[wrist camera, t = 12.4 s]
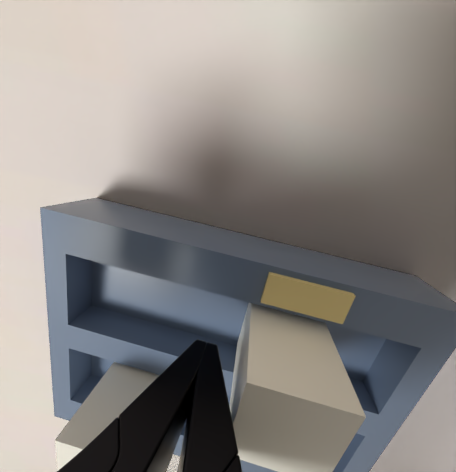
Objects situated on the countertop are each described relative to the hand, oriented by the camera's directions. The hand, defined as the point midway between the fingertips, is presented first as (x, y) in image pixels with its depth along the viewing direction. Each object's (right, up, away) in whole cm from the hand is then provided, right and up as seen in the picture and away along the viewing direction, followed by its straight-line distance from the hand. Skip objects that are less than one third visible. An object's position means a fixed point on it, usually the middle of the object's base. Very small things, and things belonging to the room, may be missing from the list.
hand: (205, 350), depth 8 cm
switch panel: (+1, -1, +5) cm, 5 cm away
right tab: (+3, 0, +2) cm, 4 cm away
